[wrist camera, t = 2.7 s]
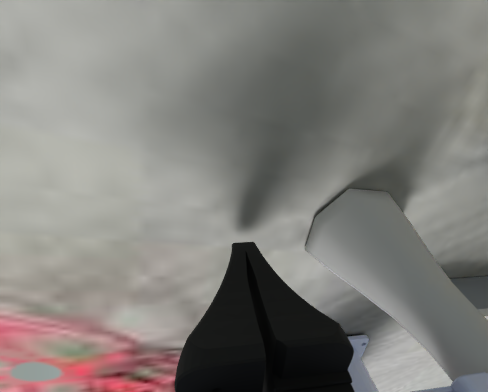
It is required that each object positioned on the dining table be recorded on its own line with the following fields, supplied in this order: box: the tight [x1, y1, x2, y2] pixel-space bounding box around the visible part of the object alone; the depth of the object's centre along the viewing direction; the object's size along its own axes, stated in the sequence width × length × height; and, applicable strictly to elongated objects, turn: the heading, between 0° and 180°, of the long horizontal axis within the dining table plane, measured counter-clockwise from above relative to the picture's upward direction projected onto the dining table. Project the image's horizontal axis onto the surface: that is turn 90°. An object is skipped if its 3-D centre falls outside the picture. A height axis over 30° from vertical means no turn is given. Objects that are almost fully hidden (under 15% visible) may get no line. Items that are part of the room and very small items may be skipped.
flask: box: [305, 189, 488, 381], centre depth 11 cm, size 7×7×10 cm
